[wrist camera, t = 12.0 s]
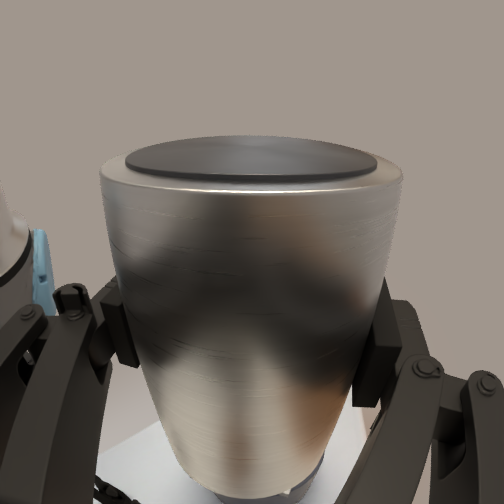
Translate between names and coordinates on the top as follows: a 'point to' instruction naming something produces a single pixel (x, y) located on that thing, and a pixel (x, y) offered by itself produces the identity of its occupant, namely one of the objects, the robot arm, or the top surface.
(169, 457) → the top surface
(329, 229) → the cup
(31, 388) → the robot arm
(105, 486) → the wireless earbuds
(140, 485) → the top surface
